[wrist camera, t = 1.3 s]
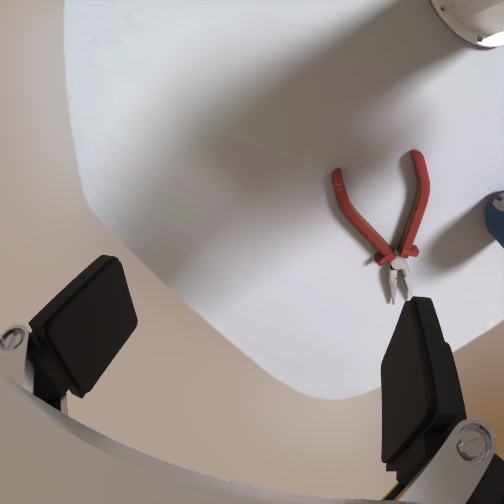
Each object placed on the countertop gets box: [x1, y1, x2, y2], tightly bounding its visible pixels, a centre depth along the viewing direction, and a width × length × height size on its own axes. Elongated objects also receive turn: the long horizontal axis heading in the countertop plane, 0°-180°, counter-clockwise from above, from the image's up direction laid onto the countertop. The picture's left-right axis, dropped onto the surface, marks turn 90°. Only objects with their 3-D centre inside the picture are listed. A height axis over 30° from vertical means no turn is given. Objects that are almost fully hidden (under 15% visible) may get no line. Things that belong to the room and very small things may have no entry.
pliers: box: [332, 150, 430, 305], centre depth 36 cm, size 12×21×3 cm, turn 21°
